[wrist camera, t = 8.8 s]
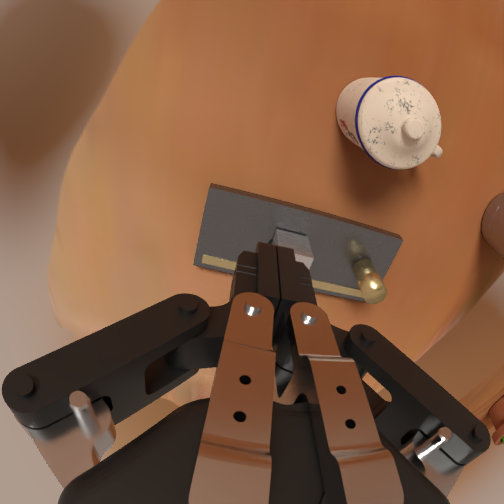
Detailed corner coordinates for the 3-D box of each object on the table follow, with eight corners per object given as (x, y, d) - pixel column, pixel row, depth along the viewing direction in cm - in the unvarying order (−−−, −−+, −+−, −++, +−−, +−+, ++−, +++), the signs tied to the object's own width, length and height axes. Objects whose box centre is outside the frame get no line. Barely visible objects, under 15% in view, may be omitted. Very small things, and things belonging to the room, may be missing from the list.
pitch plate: (399, 234, 40) (421, 264, 33) (366, 296, 45) (380, 330, 39) (211, 183, 37) (201, 207, 30) (195, 258, 42) (184, 293, 36)
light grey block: (307, 236, 38) (313, 258, 34) (294, 269, 41) (298, 293, 36) (276, 228, 38) (279, 249, 33) (265, 262, 40) (266, 286, 36)
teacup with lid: (319, 127, 33) (347, 149, 23) (353, 61, 29) (395, 55, 19) (400, 173, 35) (447, 210, 25) (432, 114, 31) (489, 133, 21)
